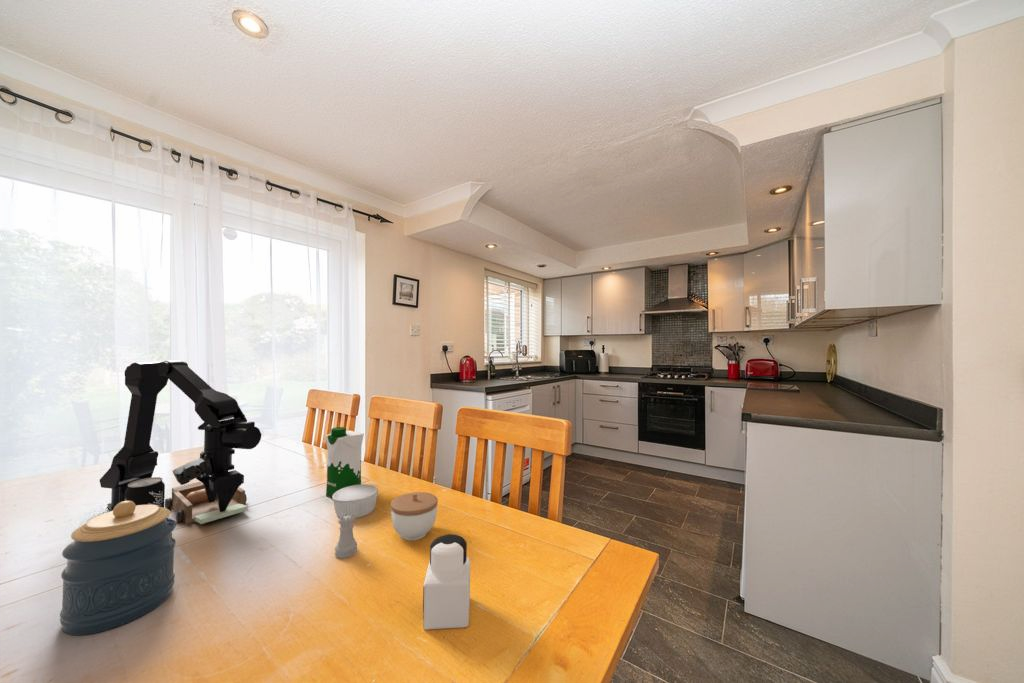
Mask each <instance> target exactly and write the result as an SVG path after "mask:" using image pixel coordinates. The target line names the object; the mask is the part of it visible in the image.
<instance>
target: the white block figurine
mask: <svg viewBox="0 0 1024 683" xmlns="http://www.w3.org/2000/svg"><path fill="white" fill-rule="evenodd" d="M467 546H468V545H467V540H466V539H465V538H464V537H463V536H461V535H459V534H454V533H453V534H452V533H451V534H450V533H448V534H442V535H440V536H438V537H436V538H434V539H433V540H432V542H431V543H430V546H429V562H428V566H427V570H426V574H425V579H424V581H423V588H422V589H423V590H422V594H423V595H422V629H423V630H424V631H425V630H427V631H428V630H442V629H444V630H445V629H459V628H461V629H462V628H463V629H464V628H467V627H468V626H469V625H470V624H469V623H470V620H469V619H470V603H471V602H470V601H471V600H470V599H471V558H470V557H469V556H468V557H467V554H468V553H467V551H468V550H467V549H468V548H467Z"/></svg>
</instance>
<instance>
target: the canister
mask: <svg viewBox="0 0 1024 683" xmlns="http://www.w3.org/2000/svg"><path fill="white" fill-rule="evenodd" d="M170 515H171V511H170V508H168V509H167V508H165V507H164V508H162V507H159V506H157V505H137V506H135V503H134V502H133V501H123V502H120V503H118V504H117V505H116V506H115V507H114V509H113V511H110V510H109V511H107V512H104V513H101V514H99V515H97V516H95V517H93V518H90V519H88V520H87V521H86V523H84V524H83V525H81V526H79V527H78V528H76V529H75V530H74V531H72V532H71V540H73V541H72V542H70V543H69V544H68V545H67V546H65V547H64V549H63V550H62V552H61V555H62V557H63V558H64V559H65V560H67V562H66V566H65V567H64V568H63V570H62V572H61V573H60V574H61V576H60V578H61V579H62V598H61V599H62V604H61V605H62V606H61V607H62V608H61V610H60V613H59V616H60V618H59V622H60V624H61V627H62V628H61V629H62V631H63V633H66V634H69V635H73V636H75V635H77V636H78V635H79V636H81V635H90V634H91V635H92V634H95V633H96V634H97V633H100V632H104V631H107V630H110V629H114V628H117V627H120V626H121V625H125V624H127V623H130V622H132V621H134V620H136V619H138V618H141V617H142V616H144V615H146V614H148V613H149V612H151V611H153V610H154V609H155V608H158V607H159V606H160V605H161V604H162V603H163V602H165V601H166V600H167V599H168V598H169V596H170V595H171V593H172V592H173V586H174V585H175V576H176V575H175V573H174V570H175V569H174V565H175V564H174V563H175V561H174V560H175V546H176V539H175V538H174V537H173V534H172V533H173V531H174V529H175V528H176V527H177V521H175V520H174V519H172V518H169V517H170Z"/></svg>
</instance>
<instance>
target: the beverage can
mask: <svg viewBox="0 0 1024 683" xmlns="http://www.w3.org/2000/svg"><path fill="white" fill-rule="evenodd" d="M165 486H166V485H165V482H164V481H163V477H160V476H155V477H154V476H152V477H151V478H145V479H141V480H137V481H134V482H131V483H129V484H128V488H127V489H126V491H125V501H133V502H134V503H135V506H137V505H157V506H159V507H162V508H165V493H166V492H165V490H166V487H165Z"/></svg>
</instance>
